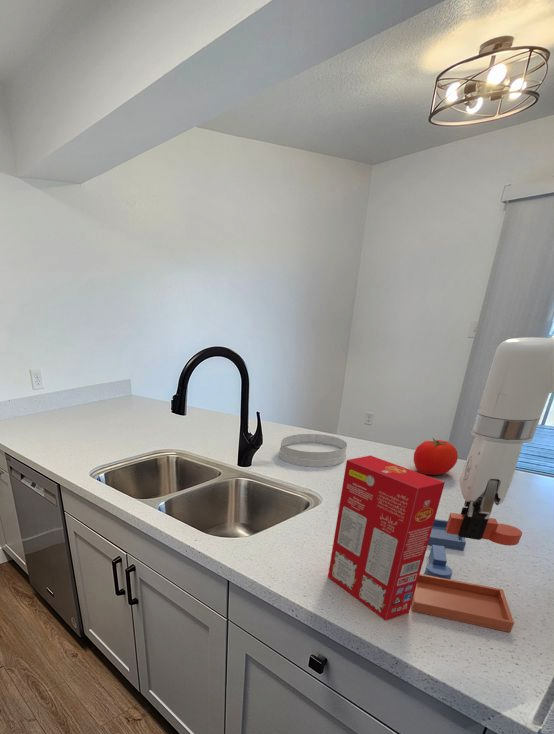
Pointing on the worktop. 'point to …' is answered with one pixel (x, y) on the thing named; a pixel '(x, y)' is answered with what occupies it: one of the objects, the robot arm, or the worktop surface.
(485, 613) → the terracotta tray
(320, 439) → the light grey ring
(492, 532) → the terracotta spoon
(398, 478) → the food packaging
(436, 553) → the slate spoon
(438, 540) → the slate tray
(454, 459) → the tomato
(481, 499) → the robot arm
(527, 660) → the worktop surface
